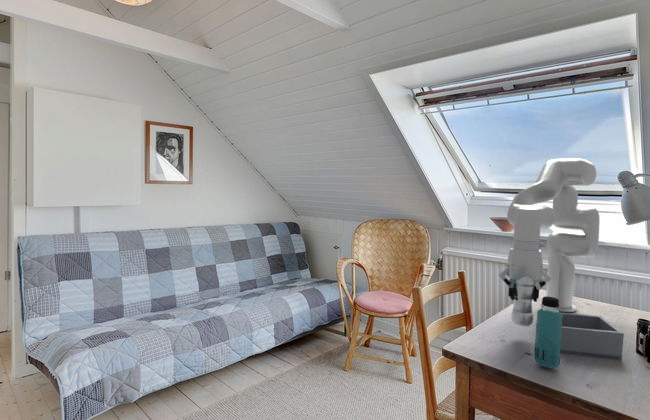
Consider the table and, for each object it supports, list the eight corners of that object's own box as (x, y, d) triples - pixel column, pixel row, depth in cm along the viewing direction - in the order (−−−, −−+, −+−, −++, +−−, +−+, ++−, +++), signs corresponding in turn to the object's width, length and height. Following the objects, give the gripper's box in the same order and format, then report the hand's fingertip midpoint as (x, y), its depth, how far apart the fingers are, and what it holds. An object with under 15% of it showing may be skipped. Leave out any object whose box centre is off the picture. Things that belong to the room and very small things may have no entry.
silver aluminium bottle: (512, 327, 127) (515, 266, 125) (509, 319, 134) (512, 262, 132) (534, 329, 125) (538, 268, 124) (530, 322, 132) (533, 263, 130)
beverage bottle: (562, 367, 110) (567, 297, 108) (556, 376, 105) (561, 303, 103) (536, 360, 114) (540, 292, 113) (530, 367, 109) (534, 297, 108)
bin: (542, 334, 134) (543, 311, 133) (598, 339, 130) (600, 316, 129) (557, 352, 119) (559, 327, 119) (621, 359, 116) (623, 333, 115)
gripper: (551, 244, 129) (548, 298, 131) (495, 242, 133) (492, 294, 134) (559, 249, 122) (556, 305, 123) (499, 246, 125) (497, 301, 127)
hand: (523, 299), depth 129 cm, fingers closed on silver aluminium bottle, 6 cm apart
